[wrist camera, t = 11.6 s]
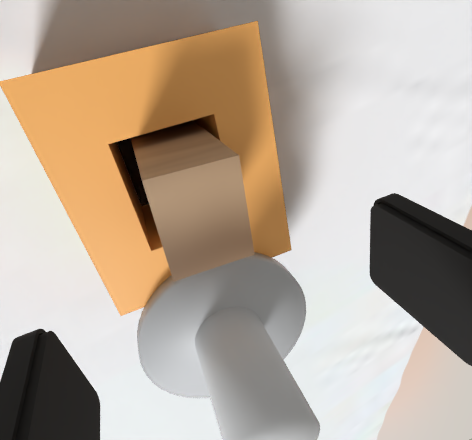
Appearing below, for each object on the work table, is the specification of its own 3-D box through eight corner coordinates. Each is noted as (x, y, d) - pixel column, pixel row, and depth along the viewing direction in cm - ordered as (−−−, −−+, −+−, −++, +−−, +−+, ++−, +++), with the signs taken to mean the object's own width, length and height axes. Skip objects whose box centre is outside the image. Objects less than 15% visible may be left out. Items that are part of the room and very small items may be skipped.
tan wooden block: (127, 125, 23) (141, 180, 13) (183, 113, 24) (239, 155, 14) (147, 191, 25) (173, 281, 15) (198, 177, 26) (254, 254, 16)
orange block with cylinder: (31, 74, 20) (-133, 112, 6) (218, 30, 22) (387, -11, 9) (157, 341, 32) (193, 553, 18) (271, 294, 34) (378, 452, 21)
